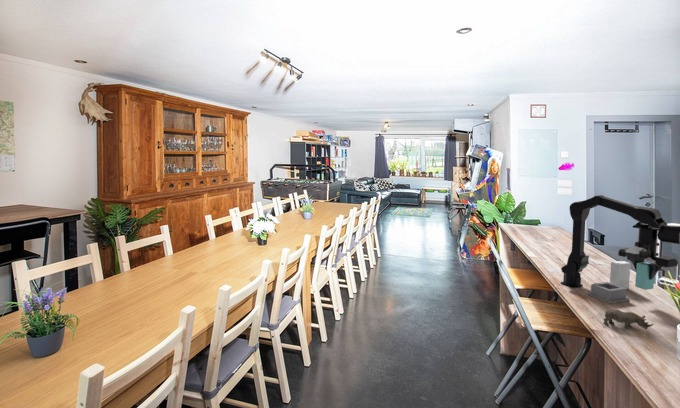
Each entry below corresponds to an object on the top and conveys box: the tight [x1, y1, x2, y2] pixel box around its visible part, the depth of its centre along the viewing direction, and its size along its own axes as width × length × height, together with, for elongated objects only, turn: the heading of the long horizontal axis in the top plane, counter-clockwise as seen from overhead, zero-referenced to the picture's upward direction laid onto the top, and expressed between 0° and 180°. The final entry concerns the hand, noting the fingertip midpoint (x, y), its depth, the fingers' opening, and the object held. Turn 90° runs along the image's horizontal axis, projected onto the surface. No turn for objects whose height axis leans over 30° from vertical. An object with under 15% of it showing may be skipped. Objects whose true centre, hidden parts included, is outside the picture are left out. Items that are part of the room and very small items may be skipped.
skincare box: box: [609, 260, 632, 289], centre depth 163 cm, size 6×4×12 cm
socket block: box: [587, 281, 630, 304], centre depth 153 cm, size 10×10×5 cm
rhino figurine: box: [603, 308, 654, 331], centre depth 126 cm, size 4×14×6 cm, turn 54°
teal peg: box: [635, 261, 655, 290], centre depth 144 cm, size 4×4×10 cm
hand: (644, 277), depth 145 cm, fingers closed on teal peg, 4 cm apart
